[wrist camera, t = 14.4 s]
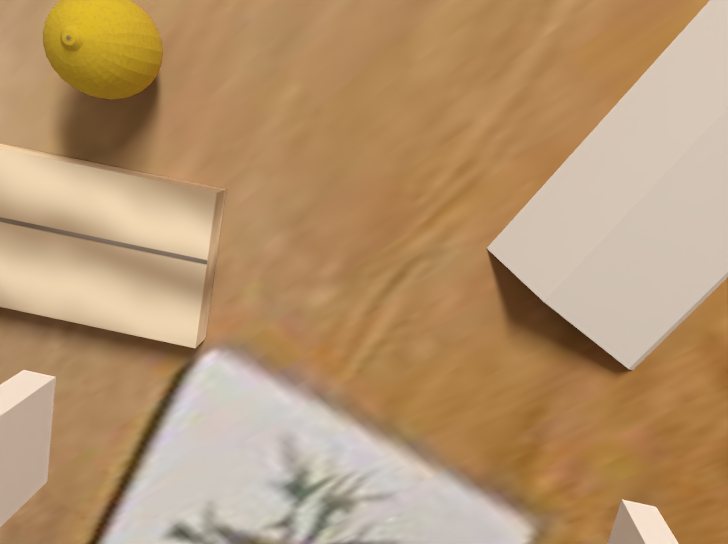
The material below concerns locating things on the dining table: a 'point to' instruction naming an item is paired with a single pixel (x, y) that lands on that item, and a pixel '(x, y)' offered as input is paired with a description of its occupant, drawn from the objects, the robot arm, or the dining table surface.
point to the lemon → (103, 46)
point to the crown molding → (638, 204)
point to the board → (107, 245)
